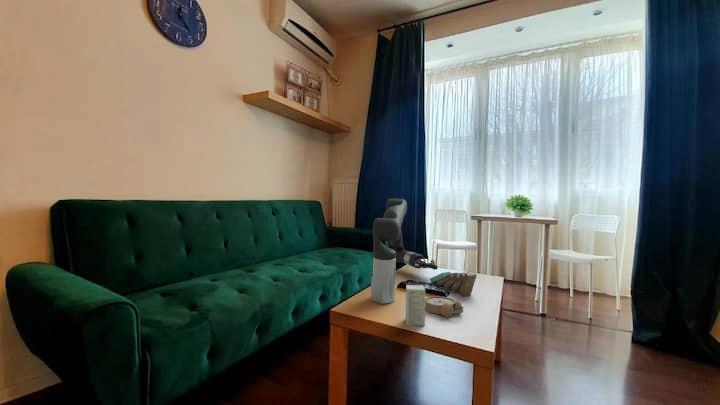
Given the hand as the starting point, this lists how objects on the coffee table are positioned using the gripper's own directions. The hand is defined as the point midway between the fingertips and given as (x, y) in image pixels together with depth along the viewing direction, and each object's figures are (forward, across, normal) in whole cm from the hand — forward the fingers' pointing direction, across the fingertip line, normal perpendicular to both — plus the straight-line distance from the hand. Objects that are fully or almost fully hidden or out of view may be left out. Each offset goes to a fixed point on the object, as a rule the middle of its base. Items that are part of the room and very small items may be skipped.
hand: (436, 267), depth 139 cm
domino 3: (+13, 0, +7) cm, 15 cm away
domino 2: (+8, 0, +7) cm, 11 cm away
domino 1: (+4, 0, +7) cm, 8 cm away
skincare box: (+30, -37, +8) cm, 48 cm away
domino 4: (+18, 0, +7) cm, 19 cm away
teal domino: (-1, 0, +7) cm, 7 cm away
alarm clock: (+27, -21, +8) cm, 35 cm away
